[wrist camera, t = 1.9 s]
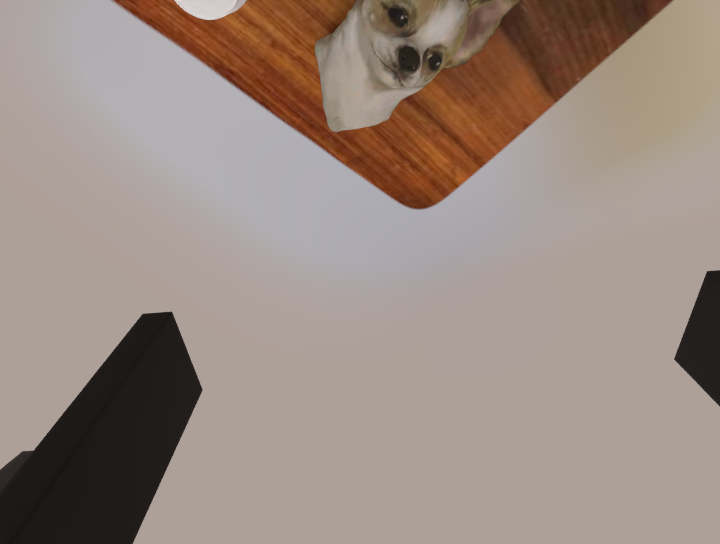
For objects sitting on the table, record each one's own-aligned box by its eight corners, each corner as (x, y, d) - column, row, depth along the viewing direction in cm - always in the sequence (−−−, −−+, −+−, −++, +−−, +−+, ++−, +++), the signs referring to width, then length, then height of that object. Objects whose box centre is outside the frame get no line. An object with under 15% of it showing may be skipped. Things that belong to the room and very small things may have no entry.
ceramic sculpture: (268, 85, 25) (472, -169, 18) (272, 45, 31) (426, -154, 25) (385, 187, 30) (570, 20, 24) (369, 136, 37) (512, -7, 31)
